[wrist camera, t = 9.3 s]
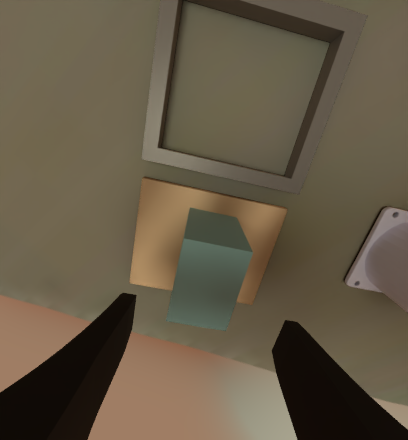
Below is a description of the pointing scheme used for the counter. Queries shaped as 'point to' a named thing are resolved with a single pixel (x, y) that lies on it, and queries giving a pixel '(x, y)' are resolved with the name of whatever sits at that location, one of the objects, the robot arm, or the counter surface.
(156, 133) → the grey flat square frame
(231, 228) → the block
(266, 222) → the board
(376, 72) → the counter surface
